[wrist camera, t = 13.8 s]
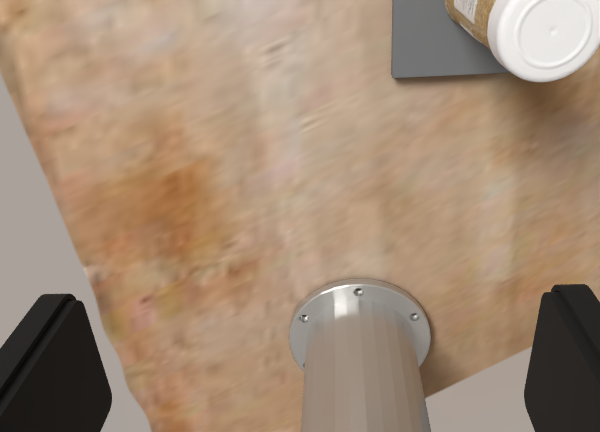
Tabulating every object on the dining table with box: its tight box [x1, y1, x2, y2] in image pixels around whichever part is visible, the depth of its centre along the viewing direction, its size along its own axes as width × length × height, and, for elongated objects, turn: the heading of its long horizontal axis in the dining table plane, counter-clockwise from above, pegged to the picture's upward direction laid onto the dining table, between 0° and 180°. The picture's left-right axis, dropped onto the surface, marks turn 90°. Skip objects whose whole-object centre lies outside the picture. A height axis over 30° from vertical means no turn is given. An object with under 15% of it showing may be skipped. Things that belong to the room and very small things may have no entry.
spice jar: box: [445, 0, 600, 82], centre depth 29 cm, size 5×5×13 cm
